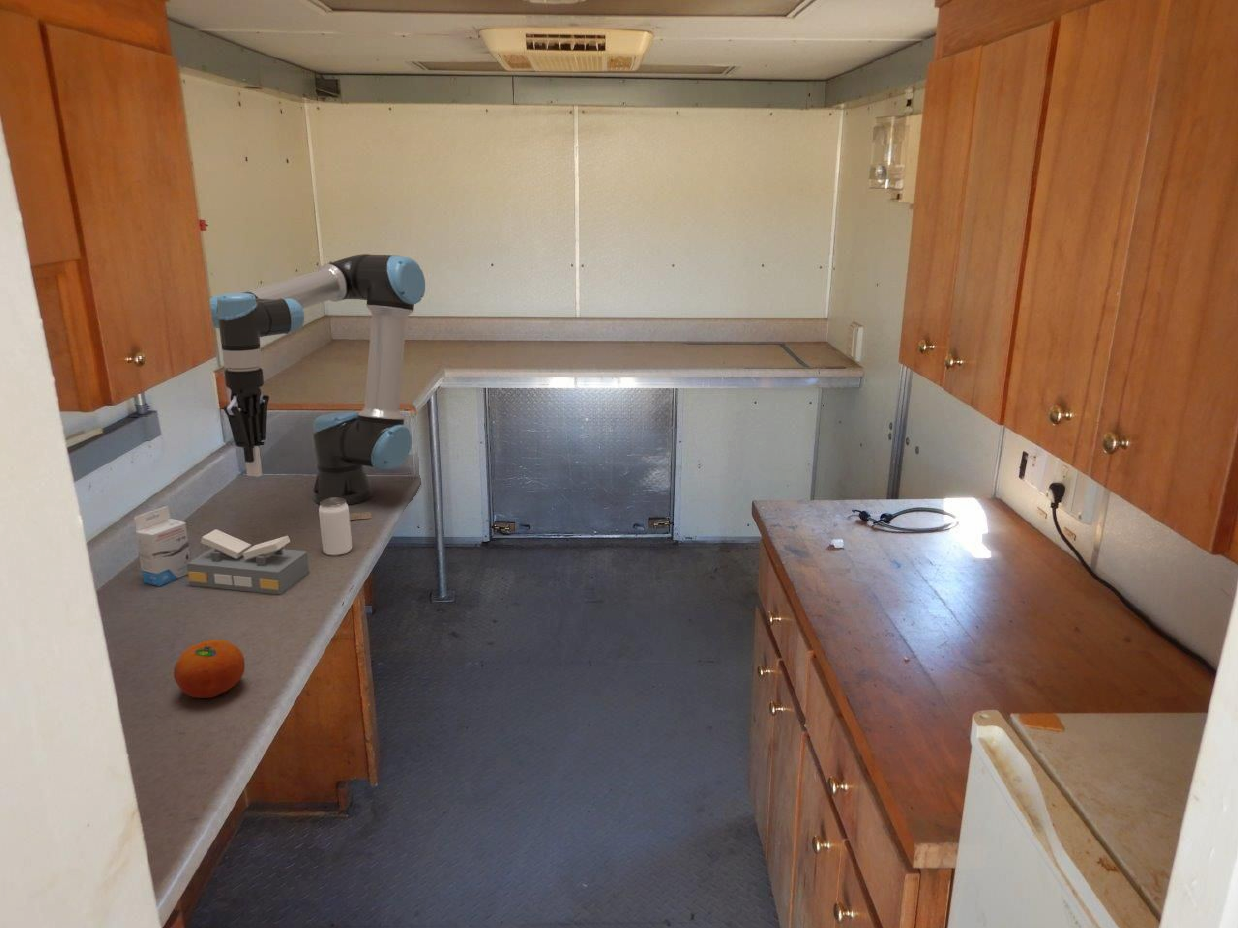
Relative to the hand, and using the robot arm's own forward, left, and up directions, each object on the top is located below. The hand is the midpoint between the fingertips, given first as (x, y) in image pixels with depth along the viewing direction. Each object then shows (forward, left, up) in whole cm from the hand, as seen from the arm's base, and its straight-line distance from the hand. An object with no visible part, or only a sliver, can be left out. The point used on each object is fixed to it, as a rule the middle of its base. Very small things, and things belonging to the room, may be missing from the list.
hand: (254, 475), depth 191 cm
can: (-8, +14, -20) cm, 25 cm away
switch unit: (+10, +3, -20) cm, 23 cm away
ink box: (+13, -14, -20) cm, 28 cm away
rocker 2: (+10, +8, -14) cm, 19 cm away
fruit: (+50, +23, -20) cm, 59 cm away
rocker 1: (+10, -2, -14) cm, 17 cm away
